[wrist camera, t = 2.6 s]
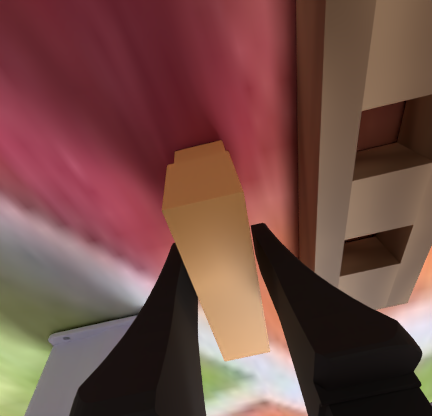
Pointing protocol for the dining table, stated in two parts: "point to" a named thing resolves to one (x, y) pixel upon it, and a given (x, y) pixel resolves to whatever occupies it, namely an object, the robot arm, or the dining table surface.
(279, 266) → the robot arm
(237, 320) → the tan wooden beam
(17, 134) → the dining table surface
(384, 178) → the rail
